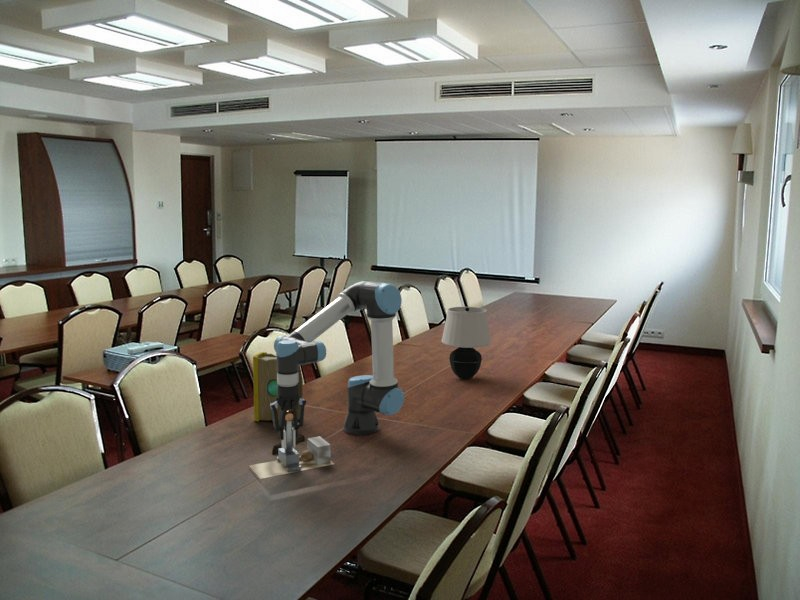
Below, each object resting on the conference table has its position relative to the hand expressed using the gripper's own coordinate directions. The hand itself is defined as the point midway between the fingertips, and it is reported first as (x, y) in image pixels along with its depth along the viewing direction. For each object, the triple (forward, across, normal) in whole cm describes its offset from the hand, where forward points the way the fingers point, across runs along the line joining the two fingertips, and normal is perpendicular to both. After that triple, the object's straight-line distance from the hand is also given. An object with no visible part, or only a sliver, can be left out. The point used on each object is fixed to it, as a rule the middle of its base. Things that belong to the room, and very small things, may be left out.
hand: (288, 446), depth 240 cm
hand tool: (+9, -6, -18) cm, 21 cm away
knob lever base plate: (+9, -1, 0) cm, 9 cm away
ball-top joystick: (+7, 0, 0) cm, 7 cm away
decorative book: (+9, -15, -54) cm, 57 cm away
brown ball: (+7, -6, 0) cm, 10 cm away
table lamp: (+9, -129, -72) cm, 148 cm away
